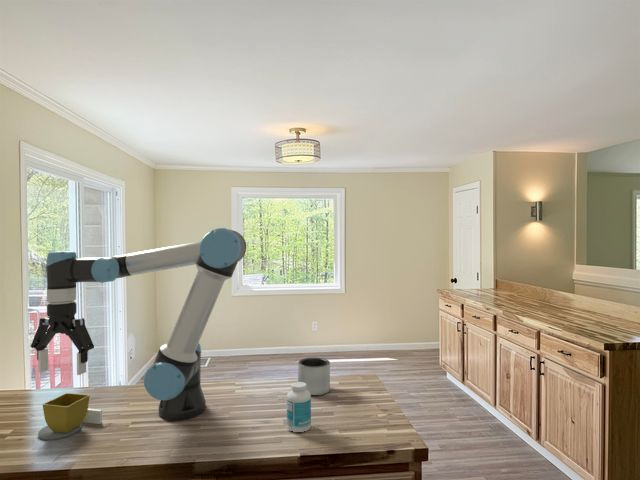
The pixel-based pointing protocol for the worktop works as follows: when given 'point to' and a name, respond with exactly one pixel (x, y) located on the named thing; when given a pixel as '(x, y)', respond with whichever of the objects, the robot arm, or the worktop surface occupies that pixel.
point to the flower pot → (66, 412)
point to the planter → (315, 375)
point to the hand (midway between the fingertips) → (62, 372)
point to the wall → (93, 416)
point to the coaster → (55, 433)
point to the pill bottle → (298, 408)
